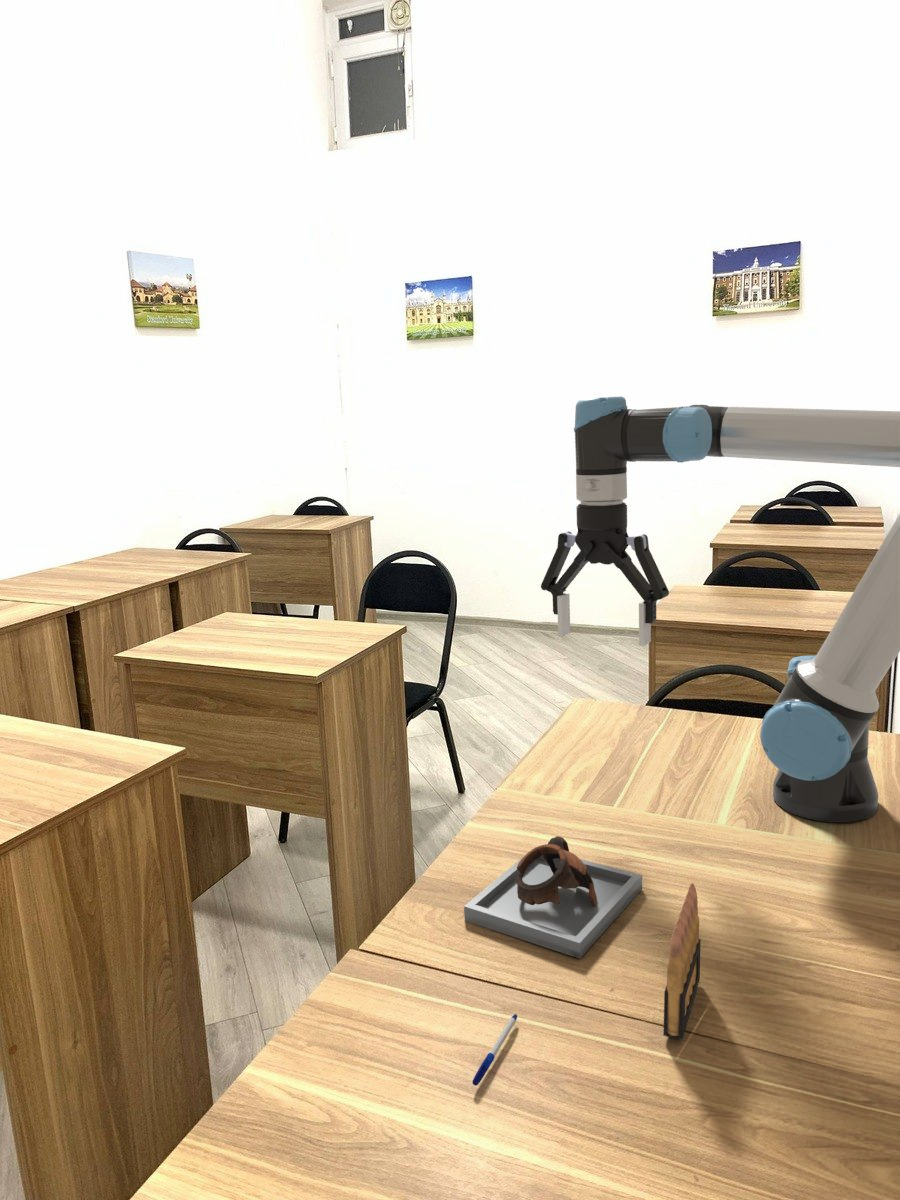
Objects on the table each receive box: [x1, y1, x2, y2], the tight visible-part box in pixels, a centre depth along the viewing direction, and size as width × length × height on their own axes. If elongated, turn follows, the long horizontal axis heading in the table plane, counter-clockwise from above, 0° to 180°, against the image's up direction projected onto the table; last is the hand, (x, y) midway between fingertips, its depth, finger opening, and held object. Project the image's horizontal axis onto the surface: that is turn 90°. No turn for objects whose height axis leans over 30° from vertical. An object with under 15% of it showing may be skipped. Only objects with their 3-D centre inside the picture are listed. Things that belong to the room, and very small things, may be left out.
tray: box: [463, 846, 643, 959], centre depth 118 cm, size 16×18×2 cm
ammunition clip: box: [663, 882, 701, 1041], centre depth 96 cm, size 11×2×12 cm, turn 156°
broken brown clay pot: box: [515, 835, 597, 907], centre depth 118 cm, size 12×10×8 cm
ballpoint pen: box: [472, 1013, 518, 1086], centre depth 92 cm, size 10×1×1 cm, turn 156°
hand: (603, 639), depth 143 cm, fingers open, 13 cm apart
